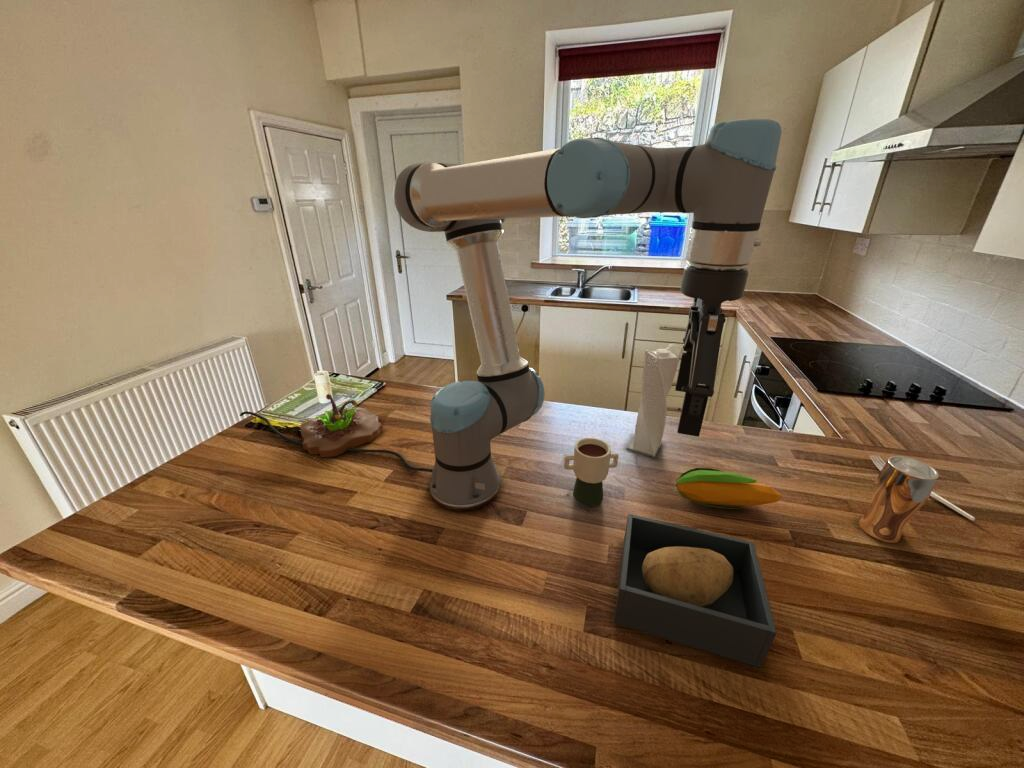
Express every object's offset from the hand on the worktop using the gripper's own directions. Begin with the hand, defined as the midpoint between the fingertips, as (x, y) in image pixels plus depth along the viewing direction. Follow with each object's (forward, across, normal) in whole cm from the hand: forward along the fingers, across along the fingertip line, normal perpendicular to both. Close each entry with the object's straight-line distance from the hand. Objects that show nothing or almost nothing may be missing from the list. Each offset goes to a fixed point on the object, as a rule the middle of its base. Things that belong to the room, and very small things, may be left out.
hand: (685, 410), depth 60 cm
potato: (+28, -9, -4) cm, 30 cm away
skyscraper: (+29, +32, +3) cm, 43 cm away
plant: (+29, +13, +81) cm, 87 cm away
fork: (+29, +35, -53) cm, 70 cm away
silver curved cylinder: (+29, +18, -40) cm, 53 cm away
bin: (+29, -9, -4) cm, 30 cm away
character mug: (+29, +9, +14) cm, 33 cm away
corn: (+29, +17, -13) cm, 36 cm away
